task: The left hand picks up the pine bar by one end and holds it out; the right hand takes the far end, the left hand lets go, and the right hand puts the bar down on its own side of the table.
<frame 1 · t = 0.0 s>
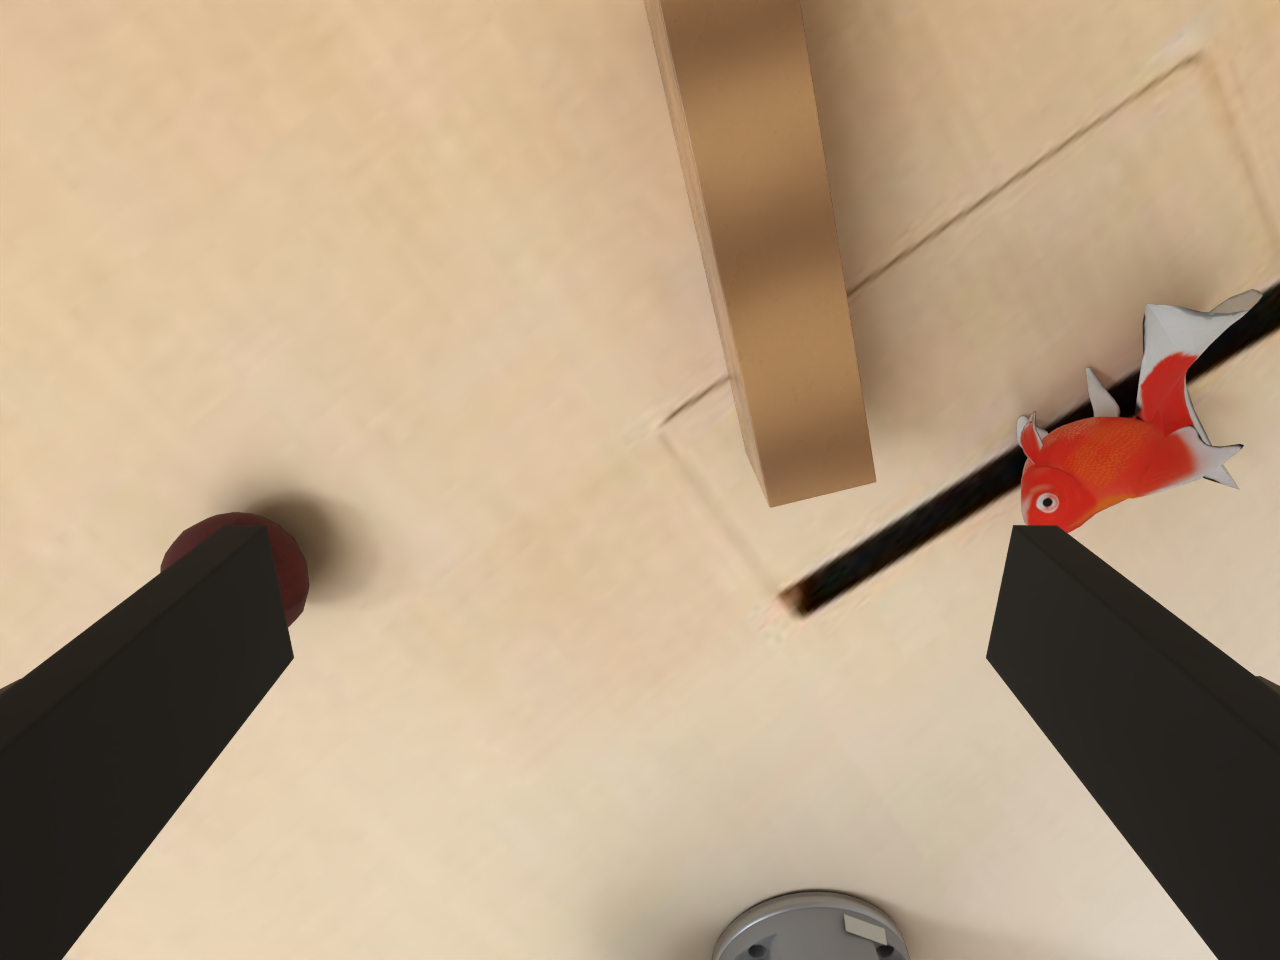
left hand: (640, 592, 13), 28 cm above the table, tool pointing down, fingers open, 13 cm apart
bar: (747, 233, 37), on the table
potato: (269, 551, 44), on the table
fish: (1089, 391, 40), on the table
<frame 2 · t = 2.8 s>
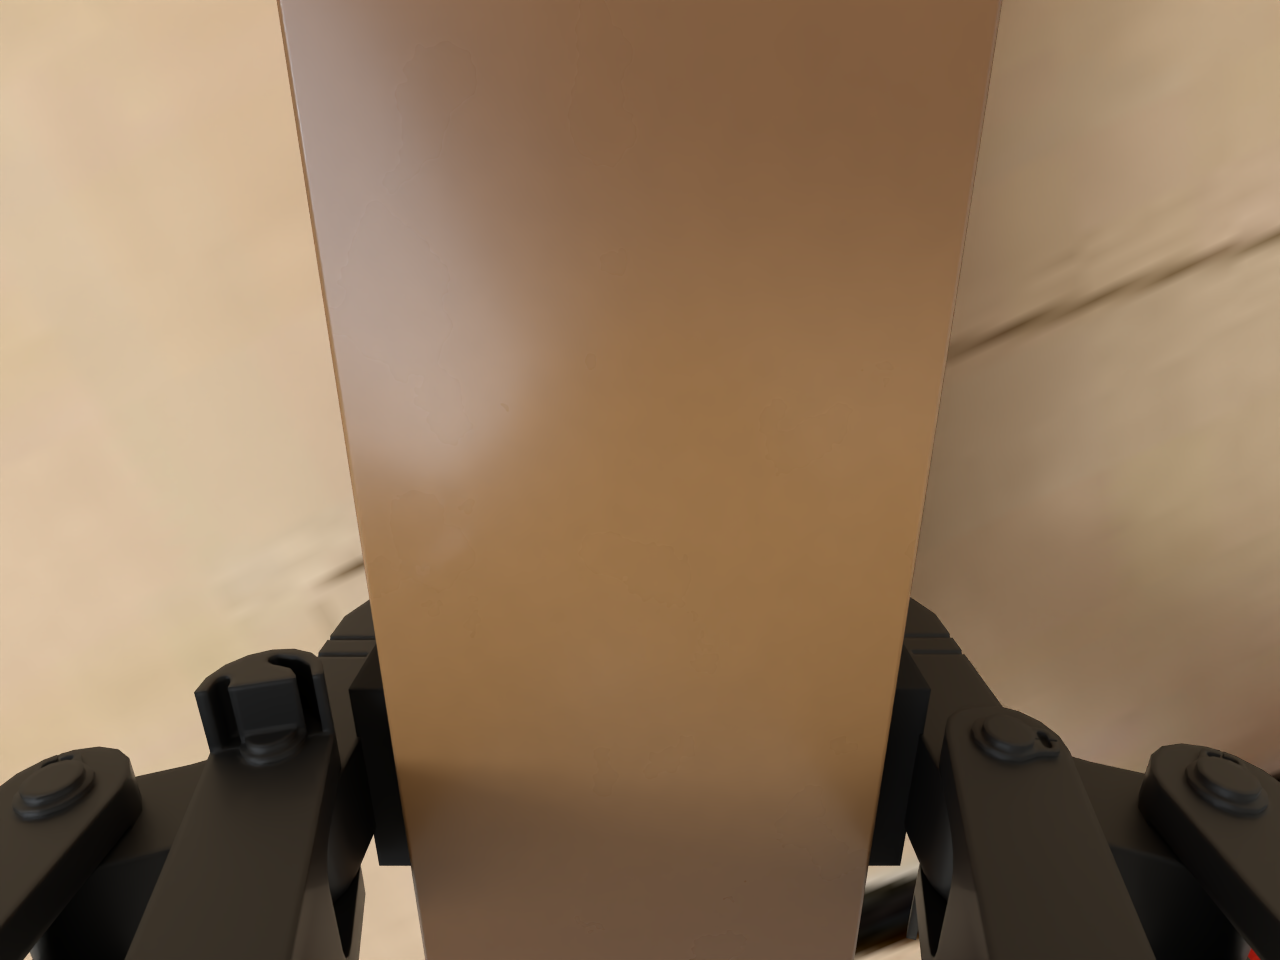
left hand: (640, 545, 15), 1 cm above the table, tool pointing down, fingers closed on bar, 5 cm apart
bar: (639, 133, 12), on the table, touching left hand
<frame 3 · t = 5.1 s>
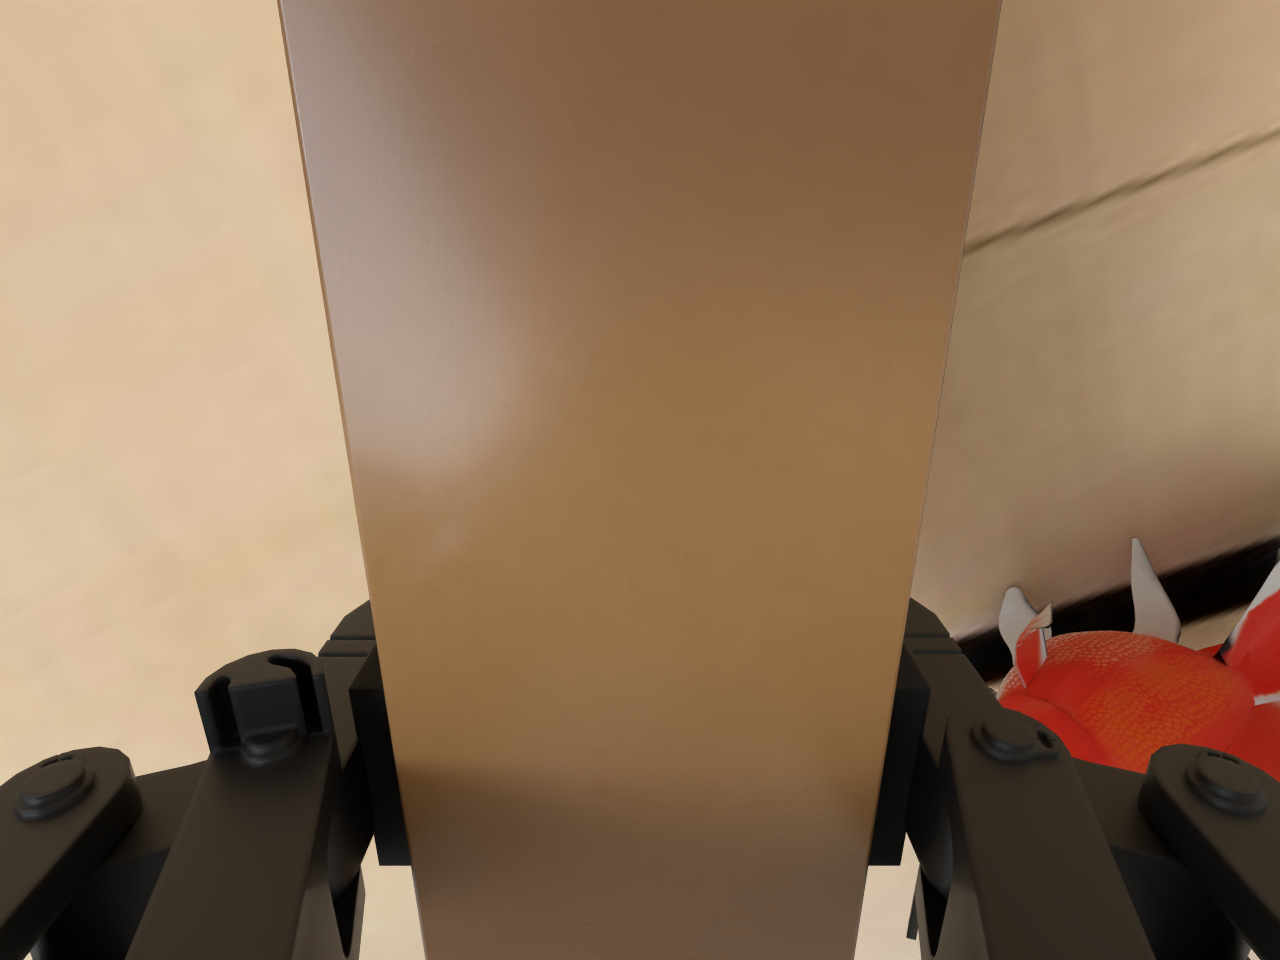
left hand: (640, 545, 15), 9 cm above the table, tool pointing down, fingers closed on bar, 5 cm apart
bar: (639, 132, 12), point 8 cm above the table, touching left hand
fish: (1125, 574, 25), on the table
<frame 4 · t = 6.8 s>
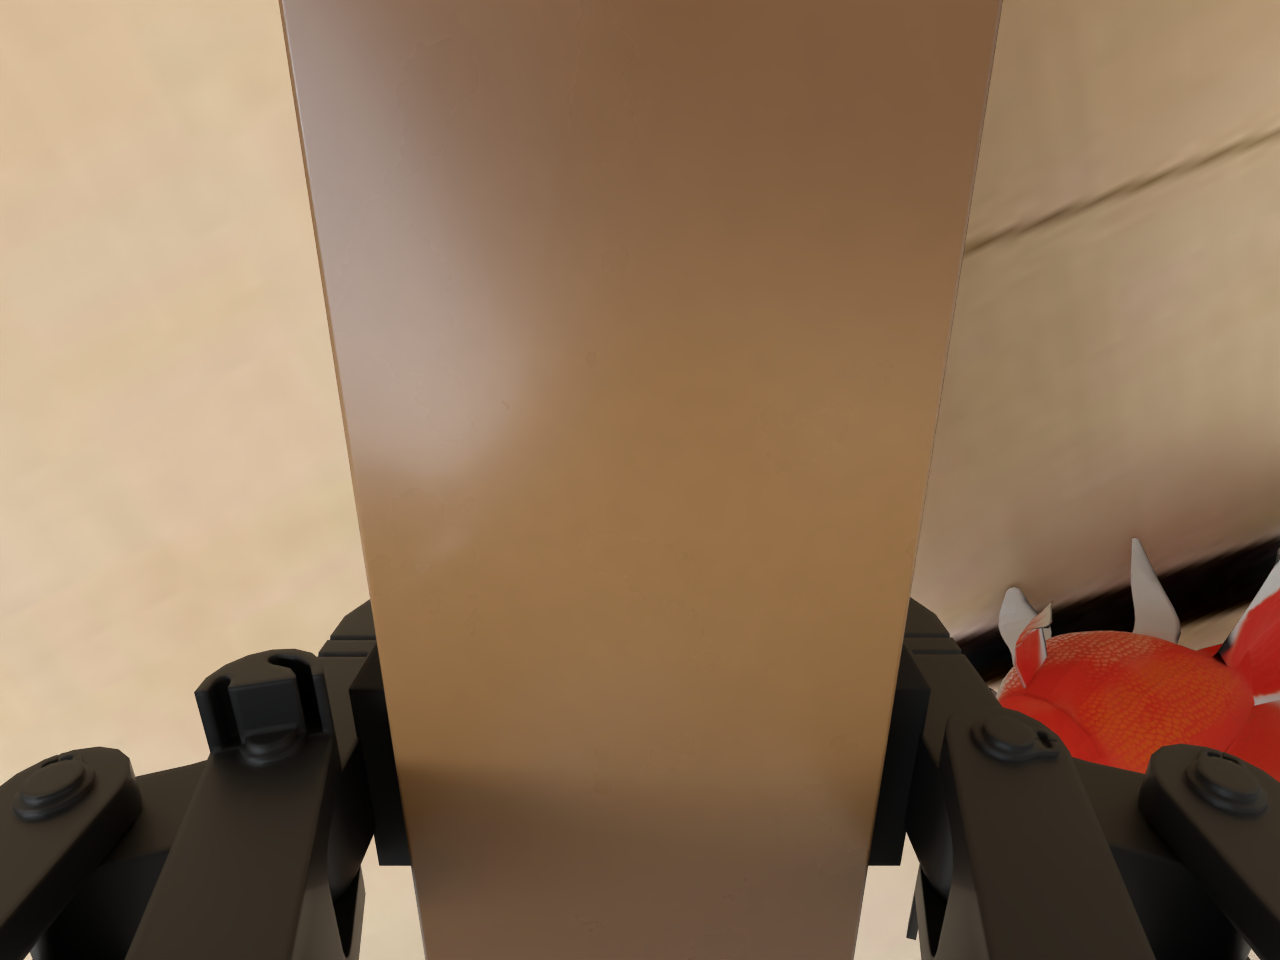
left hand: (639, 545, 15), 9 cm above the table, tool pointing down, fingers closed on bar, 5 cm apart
bar: (640, 133, 12), point 8 cm above the table, touching left hand, right hand
fish: (1125, 574, 25), on the table
when the left hand's fingers open (9 cm above the table, at t = 7.6 s): bar stays where it is, held by the right hand.
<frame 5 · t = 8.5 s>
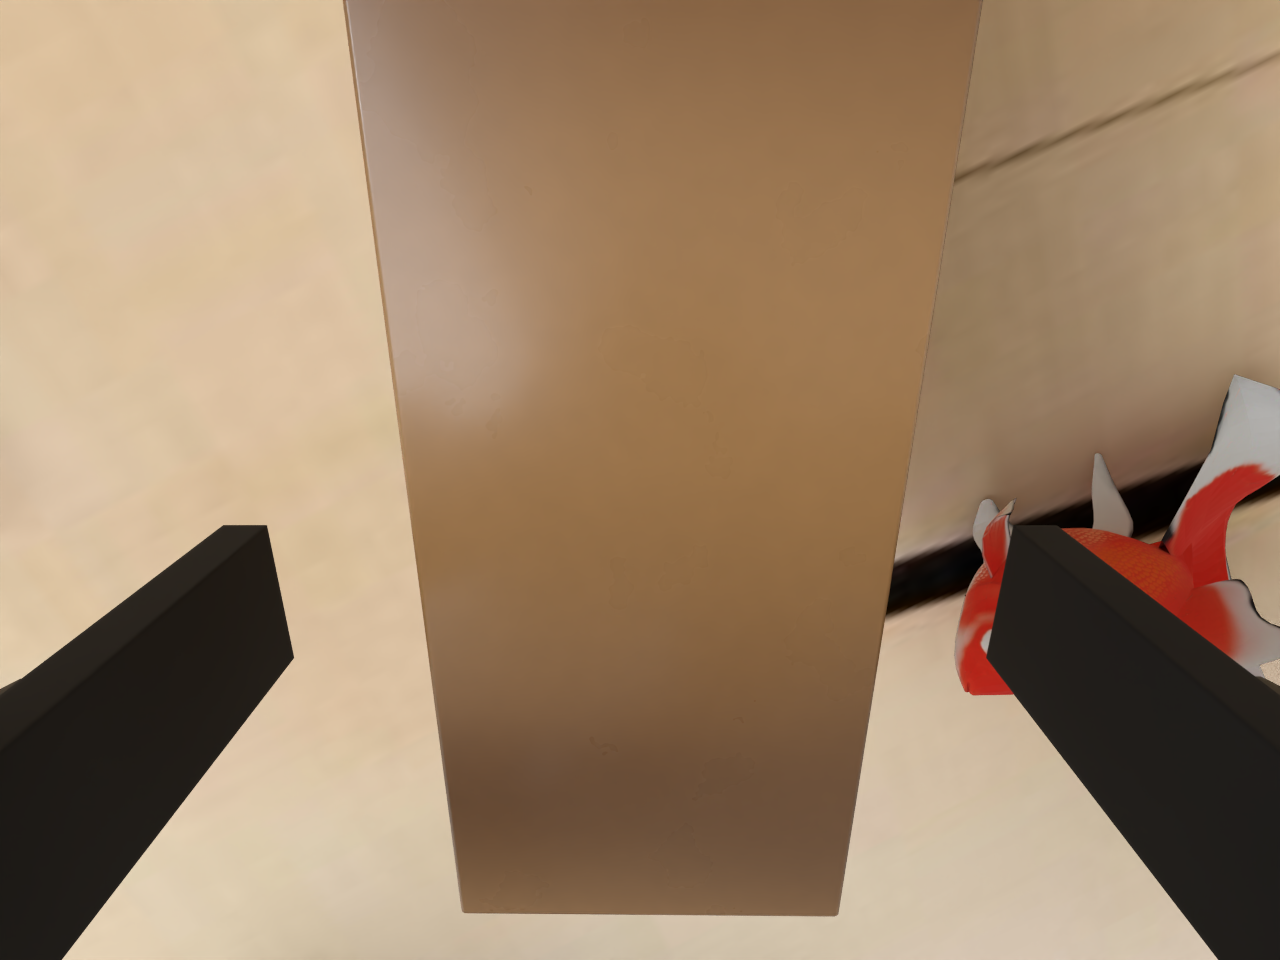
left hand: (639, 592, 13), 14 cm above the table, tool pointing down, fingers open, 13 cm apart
bar: (653, 16, 12), point 11 cm above the table, touching right hand
fish: (1089, 488, 27), on the table
when the right hand's fingers open (2 cm above the table, at t = 12.7 s): bar drops 2 cm, on the table.
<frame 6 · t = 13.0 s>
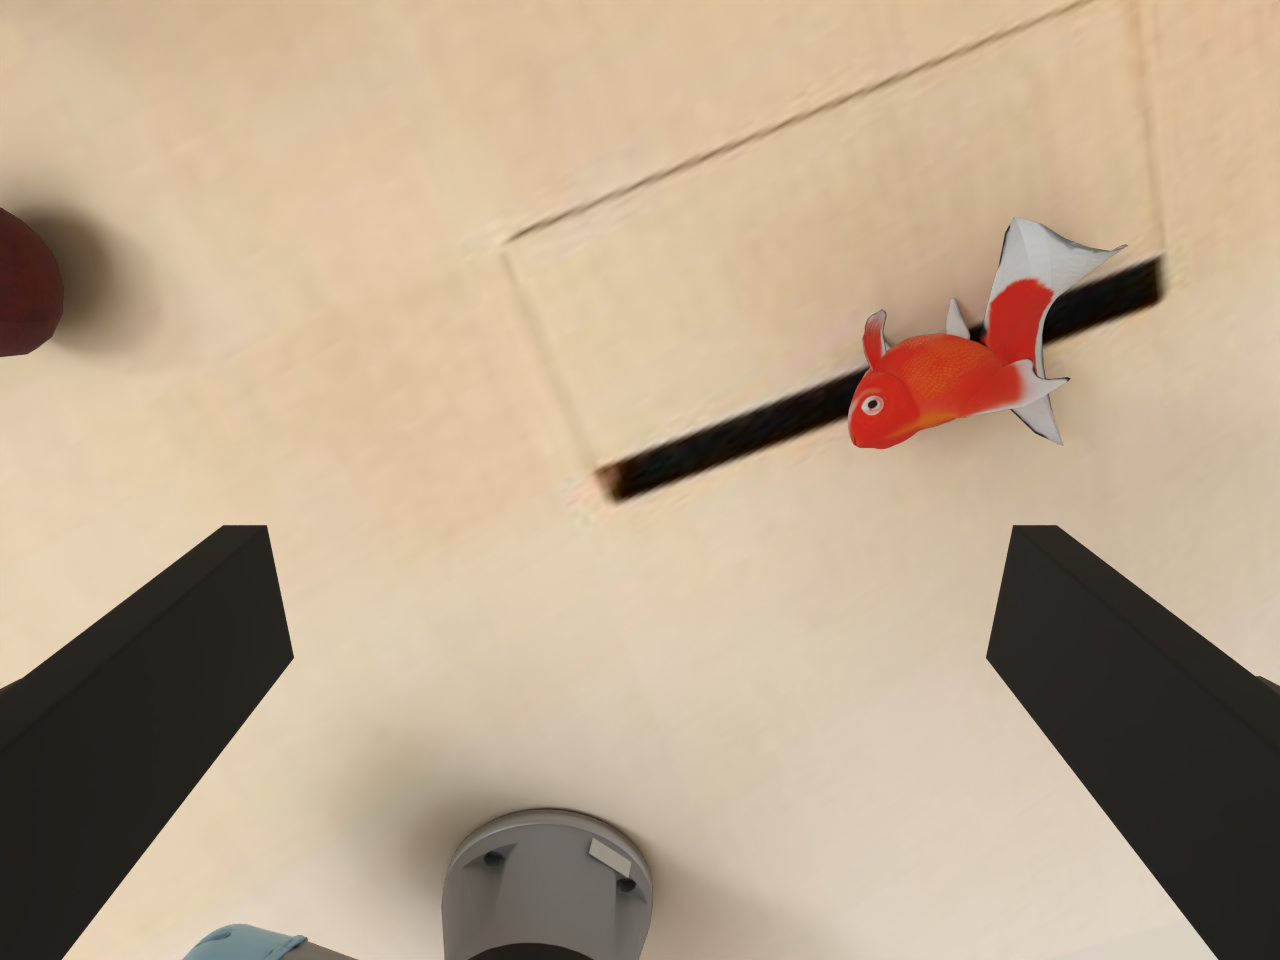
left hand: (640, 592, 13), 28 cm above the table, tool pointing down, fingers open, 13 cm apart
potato: (30, 273, 38), on the table
fish: (950, 326, 38), on the table
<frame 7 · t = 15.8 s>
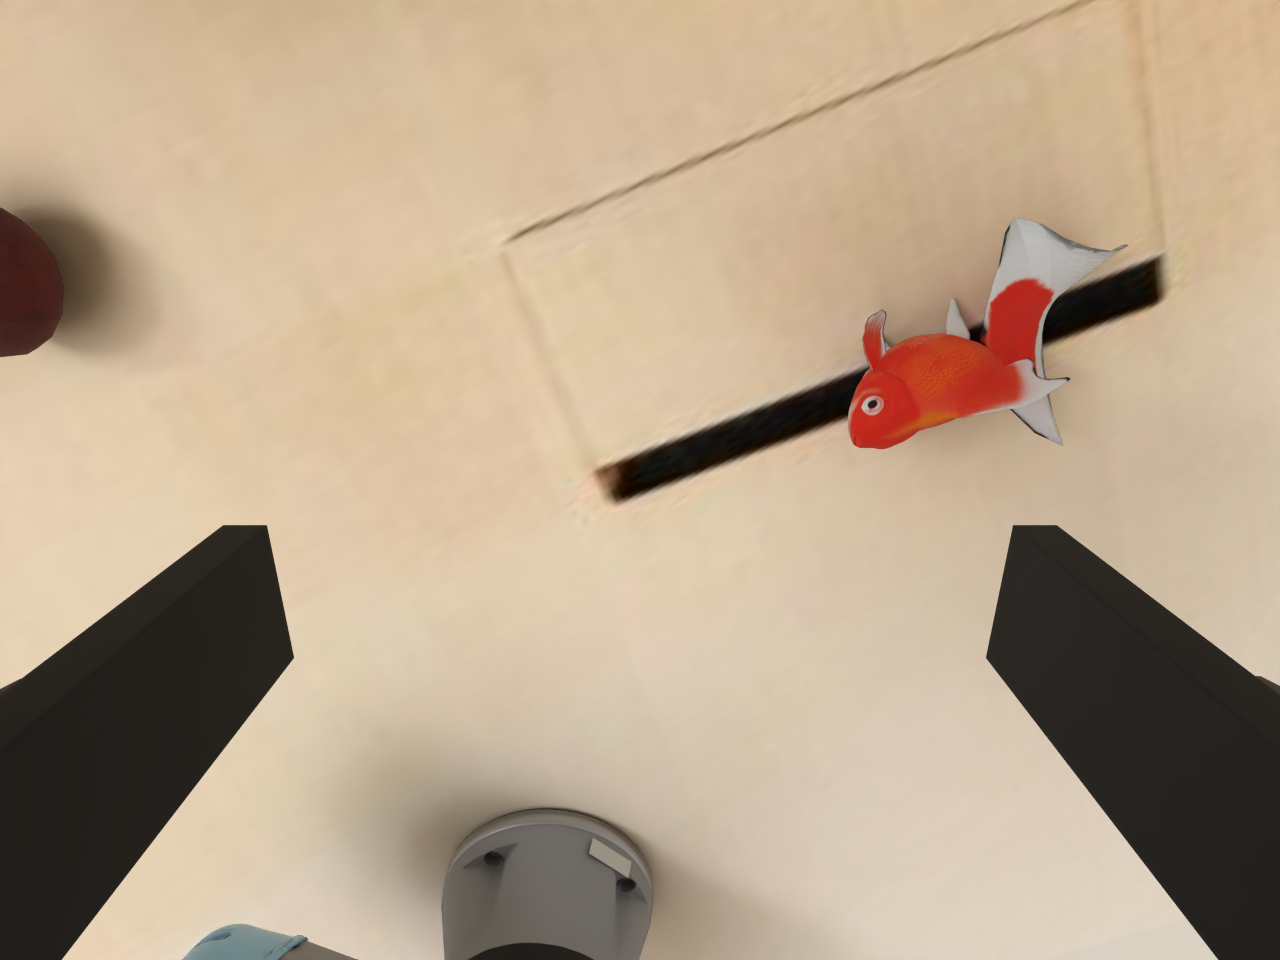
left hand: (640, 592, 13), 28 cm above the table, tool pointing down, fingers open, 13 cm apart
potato: (30, 273, 38), on the table
fish: (950, 326, 38), on the table
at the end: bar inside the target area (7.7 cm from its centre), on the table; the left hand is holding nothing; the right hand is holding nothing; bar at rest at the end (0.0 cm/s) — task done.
